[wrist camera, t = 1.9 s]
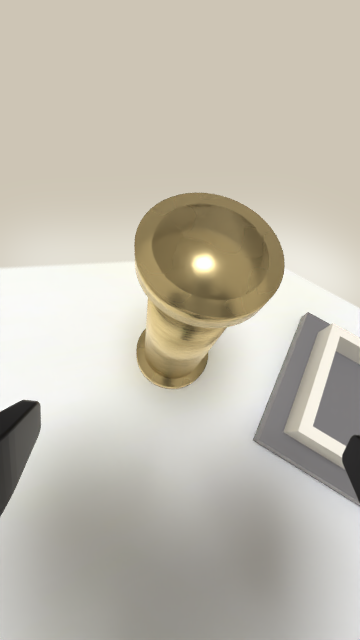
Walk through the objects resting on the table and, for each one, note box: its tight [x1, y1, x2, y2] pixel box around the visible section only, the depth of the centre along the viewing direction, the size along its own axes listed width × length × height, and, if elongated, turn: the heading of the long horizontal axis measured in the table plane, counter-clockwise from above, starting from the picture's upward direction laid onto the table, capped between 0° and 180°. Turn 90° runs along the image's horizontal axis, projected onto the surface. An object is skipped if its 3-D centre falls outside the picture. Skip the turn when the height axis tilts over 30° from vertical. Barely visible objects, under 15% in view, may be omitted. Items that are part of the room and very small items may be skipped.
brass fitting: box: [135, 193, 284, 389], centre depth 16 cm, size 6×6×13 cm
